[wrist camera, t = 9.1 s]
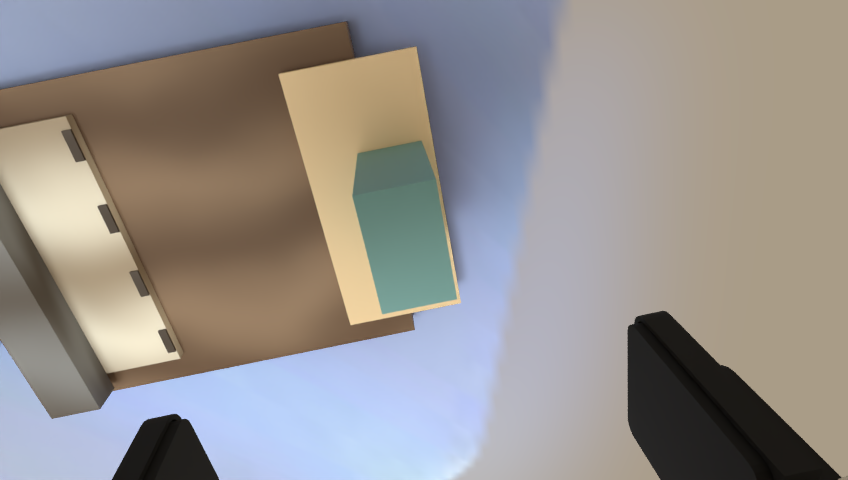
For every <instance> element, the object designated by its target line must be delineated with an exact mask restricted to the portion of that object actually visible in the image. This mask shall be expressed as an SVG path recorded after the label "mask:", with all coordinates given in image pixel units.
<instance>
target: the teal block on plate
mask: <svg viewBox="0 0 848 480" xmlns="http://www.w3.org/2000/svg"><path fill="white" fill-rule="evenodd" d="M278 75H279V78H280V82H281V85H282V89H283V92H284V96H285V99H286V103H287V106H288V110H289V113H290V117H291V120H292V124H293V127H294V131H295V134H296V137H297V141H298V144H299V148H300V151H301V155H302V158H303V162H304V165H305V169H306V172H307V176H308V179H309V183H310V186H311V190H312V193H313V197H314V200H315V204H316V207H317V210H318V214H319V217H320V221H321V224H322V228H323V231H324V235H325V238H326V242H327V245H328V249H329V252H330V256H331V259H332V263H333V266H334V270H335V273H336V276H337V280H338V283H339V287H340V290H341V294H342V297H343V301H344V304H345V308H346V311H347V315H348V318H349V322H350V325H354V324H359V323H364V322H369V321H374V320H379V319H384V318H389V317H394V316H399V315H404V314H409V313H414V312H419V311H424V310H429V309H434V308H439V307H444V306H449V305H453V304H458V303H461V301H460V295H459V290H458V284H457V278H456V272H455V266H454V261H453V255H452V249H451V243H450V238H449V232H448V226H447V220H446V215H445V209H444V203H443V197H442V192H441V186H440V180H439V174H438V168H437V163H436V157H435V151H434V145H433V140H432V134H431V128H430V122H429V117H428V111H427V105H426V99H425V93H424V88H423V82H422V76H421V70H420V65H419V59H418V53H417V47H416V46H415V47H409V48H404V49H399V50H394V51H389V52H384V53H379V54H374V55H369V56H364V57H359V58H354V59H349V60H344V61H339V62H334V63H329V64H324V65H319V66H313V67H308V68H303V69H298V70H293V71H288V72H283V73H280V74H278Z"/></svg>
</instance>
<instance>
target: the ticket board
mask: <svg viewBox="0 0 848 480" xmlns="http://www.w3.org/2000/svg"><path fill="white" fill-rule="evenodd" d="M354 58H355V54H354V49H353V45H352V40H351V36H350V31H349V27H348V23H347V21H346V22H341V23H336V24H331V25H326V26H321V27H315V28H310V29H305V30H300V31H295V32H290V33H285V34H280V35H275V36H270V37H265V38H260V39H255V40H250V41H244V42H239V43H234V44H229V45H224V46H219V47H214V48H209V49H204V50H199V51H194V52H189V53H184V54H179V55H174V56H168V57H163V58H158V59H153V60H148V61H143V62H138V63H133V64H128V65H123V66H118V67H113V68H108V69H103V70H98V71H92V72H87V73H82V74H77V75H72V76H67V77H62V78H57V79H52V80H47V81H42V82H37V83H32V84H27V85H21V86H16V87H11V88H6V89H1V90H0V340H1V342H2V343H3V345H4V346H5V348H6V349H7V351H8V352H9V354H10V355H11V357H12V359H13V360H14V362H15V363H16V365H17V366H18V368H19V369H20V371H21V372H22V374H23V376H24V377H25V379H26V380H27V382H28V383H29V385H30V386H31V388H32V389H33V391H34V392H35V394H36V396H37V397H38V399H39V400H40V402H41V403H42V405H43V406H44V408H45V409H46V411H47V412H48V414H49V415H50V417H51V418H52V419H53V418H58V417H63V416H68V415H73V414H78V413H83V412H88V411H93V410H98V409H100V408H101V407H102V405H103V404H104V402H105V401H106V400H107V398H108V397H109V395H110V394H111V392H112V391H115V390H120V389H125V388H130V387H135V386H140V385H145V384H149V383H154V382H159V381H164V380H169V379H174V378H179V377H184V376H189V375H194V374H199V373H204V372H209V371H214V370H219V369H224V368H229V367H234V366H238V365H243V364H248V363H253V362H258V361H263V360H268V359H273V358H278V357H283V356H288V355H293V354H298V353H303V352H308V351H313V350H318V349H323V348H327V347H332V346H337V345H342V344H347V343H352V342H357V341H362V340H367V339H372V338H377V337H382V336H387V335H392V334H397V333H402V332H407V331H411V330H415V329H414V321H413V314H412V313H409V314H404V315H399V316H394V317H389V318H384V319H379V320H374V321H369V322H364V323H359V324H354V325H350V322H349V318H348V315H347V311H346V308H345V304H344V301H343V297H342V294H341V290H340V287H339V283H338V280H337V276H336V273H335V270H334V266H333V263H332V259H331V256H330V252H329V249H328V245H327V242H326V238H325V235H324V231H323V228H322V224H321V221H320V217H319V214H318V210H317V207H316V204H315V200H314V197H313V193H312V190H311V186H310V183H309V179H308V176H307V172H306V169H305V165H304V162H303V158H302V155H301V151H300V148H299V144H298V141H297V137H296V134H295V131H294V127H293V124H292V120H291V117H290V113H289V110H288V106H287V103H286V99H285V96H284V92H283V89H282V85H281V82H280V78H279V75H278V74H280V73H283V72H288V71H293V70H298V69H303V68H308V67H313V66H319V65H324V64H329V63H334V62H339V61H344V60H349V59H354Z"/></svg>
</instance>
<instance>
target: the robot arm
mask: <svg viewBox="0 0 848 480" xmlns="http://www.w3.org/2000/svg"><path fill="white" fill-rule="evenodd" d="M628 422H629V426H630V429H631V432H632V434H633V436H634V438H635V439H636V441H637V443H638V444H639V446H640V447H641V449H642V451H643V452H644V454H645V455H646V457H647V459H648V460H649V462H650V463H651V465H652V467H653V468H654V470H655V471H656V473H657V475H658V476H659V478H660V479H661V480H848V476H846V477H843V478H841V477H840V476H839V475H838V474H837V473H836V472H835V471H834V470H833V469H832V468H831V467H830V466H829V465H828V464H827V463H826V462H825V461H824V460H823V459H822V458H821V457H820V456H819V455H818V454H817V453H816V452H815V451H814V450H813V449H812V448H811V447H810V446H809V445H808V444H807V443H806V442H805V441H804V440H803V439H802V438H801V437H800V436H799V435H798V434H797V433H796V432H795V431H794V430H793V429H792V428H791V427H790V426H789V425H788V424H787V423H786V422H785V421H784V420H783V419H782V418H781V417H780V416H779V415H778V414H777V413H776V412H775V411H774V410H773V409H772V408H771V407H770V406H769V405H768V404H766V402H764V401H763V400H762V399H761V398H760V397H759V396H758V395H757V394H756V393H755V392H754V391H753V390H752V389H751V388H750V387H749V386H748V385H747V384H746V383H745V382H744V381H743V380H742V379H741V378H740V377H739V376H738V375H737V374H736V373H735V372H734V371H733V370H731V369H730V368H729V367H726V366H723V365H721V366H720V365H719V364H718V363H717V362H716V361H715V359H714V358H712V357H711V356H710V354H709V353H708V352H707V351H705V350H704V348H703V347H702V346H701V345H699V344H698V342H697V341H696V340H695V339H694V338H692V337H691V335H690V334H689V333H688V332H687V331H686V330H685V329H684V328H683V327H682V326H681V325H680V324H679V323H678V322H677V321H676V320H675V319H674V318H673V317H672V316H671V315H670V314H669V313H667V312H666V311H660V312H656V313H651V314H646V315H641V316H638V317H636V319H635V323H634V324H632V325H630V326H629V327H628ZM112 480H219V478H218V476H217V474H216V472H215V470H214V468H213V466H212V464H211V462H210V460H209V458H208V456H207V454H206V453H205V451H204V449H203V447H202V445H201V443H200V441H199V439H198V437H197V435H196V433H195V431H194V429H193V427H192V425H191V423H190V422H189V420H187V419H181V417H180V416H179V415H177V414H171V415H166V416H162V417H157V418H152V419H148V420H146V421H144V423H143V424H142V425H141V427H140V429H139V431H138V432H137V434H136V436H135V438H134V440H133V442H132V443H131V445H130V447H129V449H128V451H127V453H126V455H125V456H124V458H123V460H122V462H121V464H120V466H119V467H118V469H117V471H116V473H115V475H114V477H113V479H112Z"/></svg>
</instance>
